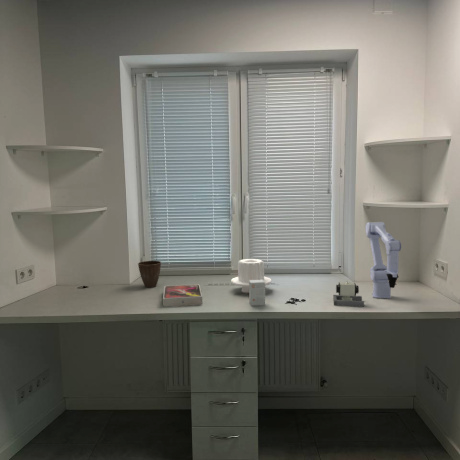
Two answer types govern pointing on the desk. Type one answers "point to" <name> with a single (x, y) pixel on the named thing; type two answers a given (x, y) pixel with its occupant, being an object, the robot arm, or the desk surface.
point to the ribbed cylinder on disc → (250, 273)
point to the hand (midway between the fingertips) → (391, 287)
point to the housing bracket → (355, 302)
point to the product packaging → (182, 295)
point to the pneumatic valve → (347, 290)
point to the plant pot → (150, 272)
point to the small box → (256, 292)
